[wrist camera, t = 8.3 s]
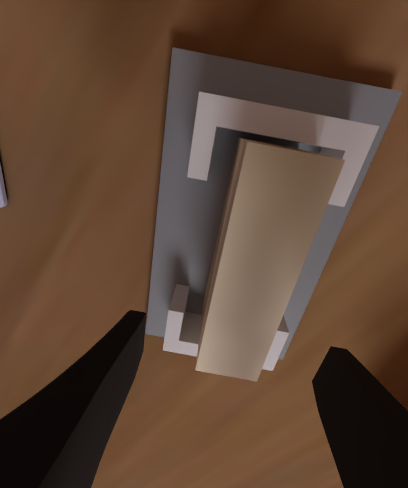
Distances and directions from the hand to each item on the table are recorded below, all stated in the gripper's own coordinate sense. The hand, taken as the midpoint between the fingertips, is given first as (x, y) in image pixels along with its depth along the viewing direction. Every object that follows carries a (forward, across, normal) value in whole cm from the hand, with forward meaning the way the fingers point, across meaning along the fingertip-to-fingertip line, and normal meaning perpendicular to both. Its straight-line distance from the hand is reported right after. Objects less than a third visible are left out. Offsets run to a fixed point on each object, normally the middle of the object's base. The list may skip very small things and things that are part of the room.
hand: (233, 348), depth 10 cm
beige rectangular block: (+8, -1, -1) cm, 9 cm away
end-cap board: (+9, -1, -1) cm, 9 cm away
